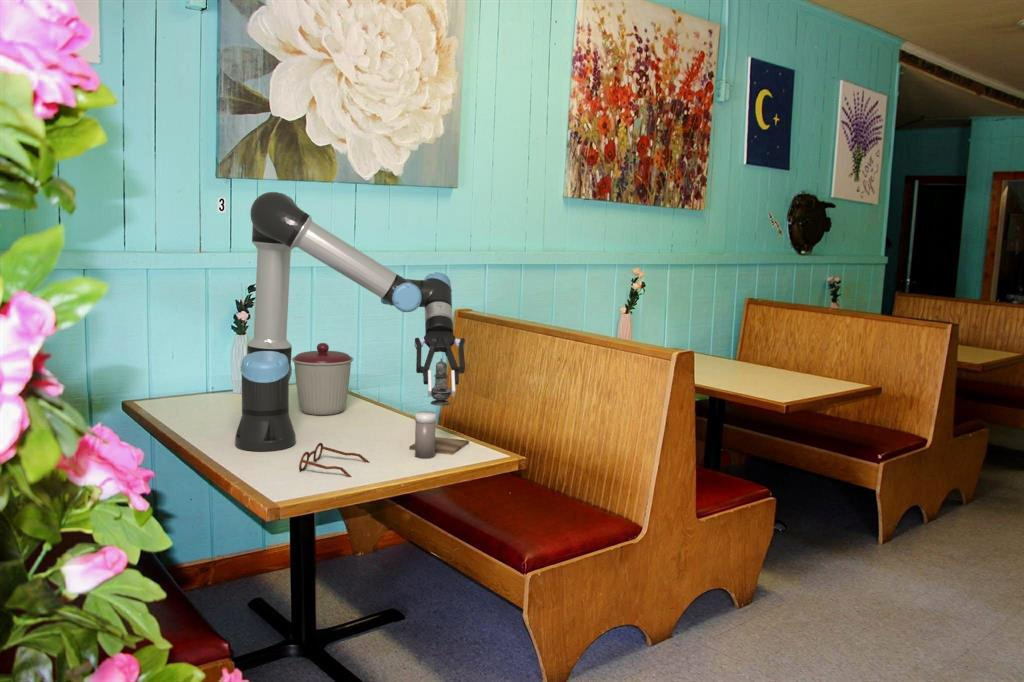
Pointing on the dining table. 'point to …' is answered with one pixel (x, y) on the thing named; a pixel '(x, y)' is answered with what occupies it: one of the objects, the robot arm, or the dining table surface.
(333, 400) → the canister
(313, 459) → the glasses
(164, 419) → the dining table surface
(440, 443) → the walnut board
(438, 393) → the grey tiered figurine
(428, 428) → the pepper shaker
